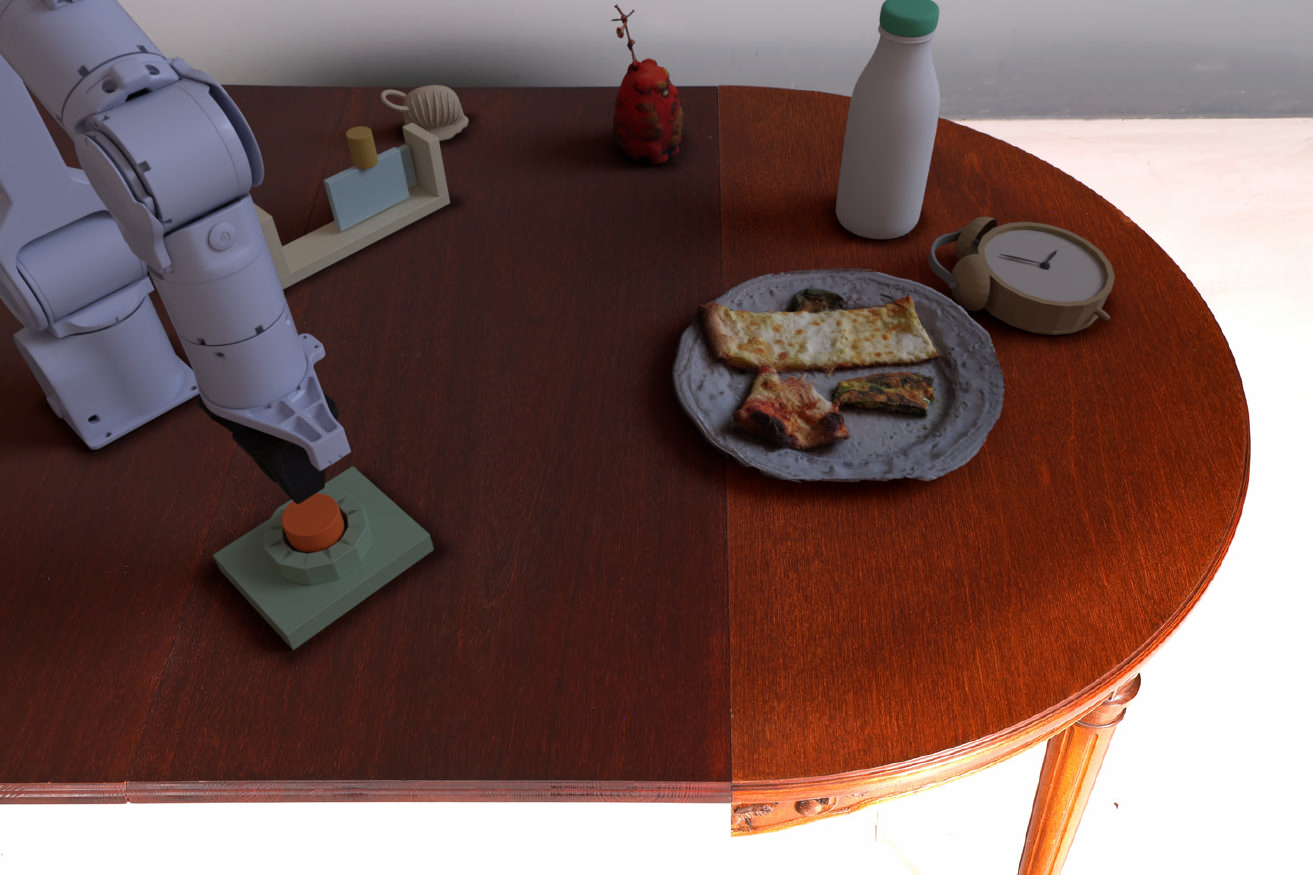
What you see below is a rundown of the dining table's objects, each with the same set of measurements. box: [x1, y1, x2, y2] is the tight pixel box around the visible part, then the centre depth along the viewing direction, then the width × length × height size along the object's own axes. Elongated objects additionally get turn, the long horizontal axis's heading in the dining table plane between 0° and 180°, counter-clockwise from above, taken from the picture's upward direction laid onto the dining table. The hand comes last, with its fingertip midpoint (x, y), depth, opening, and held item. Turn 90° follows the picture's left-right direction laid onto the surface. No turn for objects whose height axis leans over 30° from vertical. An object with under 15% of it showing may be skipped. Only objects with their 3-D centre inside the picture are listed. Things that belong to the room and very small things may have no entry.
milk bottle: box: [835, 0, 941, 240], centre depth 90 cm, size 8×8×20 cm
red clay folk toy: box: [610, 3, 684, 166], centre depth 101 cm, size 8×7×15 cm
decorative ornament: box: [379, 84, 470, 142], centre depth 107 cm, size 4×8×5 cm, turn 104°
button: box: [281, 493, 344, 553], centre depth 68 cm, size 4×4×2 cm
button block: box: [212, 465, 435, 651], centre depth 69 cm, size 11×9×4 cm
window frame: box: [253, 123, 451, 290], centre depth 94 cm, size 18×4×7 cm, turn 136°
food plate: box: [671, 267, 1007, 483], centre depth 80 cm, size 25×23×4 cm
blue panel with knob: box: [323, 125, 410, 231], centre depth 94 cm, size 8×2×8 cm, turn 136°
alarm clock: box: [928, 216, 1116, 336], centre depth 88 cm, size 11×5×15 cm
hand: (297, 482), depth 65 cm, fingers closed
